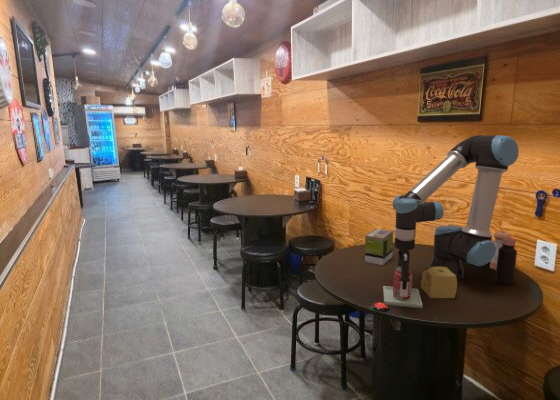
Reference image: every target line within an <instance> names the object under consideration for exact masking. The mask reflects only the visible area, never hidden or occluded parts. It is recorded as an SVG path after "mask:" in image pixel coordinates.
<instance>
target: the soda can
mask: <svg viewBox="0 0 560 400" xmlns="http://www.w3.org/2000/svg"><path fill="white" fill-rule="evenodd" d="M392 279H393V281H392V287H393V295H394V296H395V297H396V298H398V299H401V300H406V299H409V298H410V297H411V291H412V289H413V288H412V287H413V273H412V270H411V268H410V267H409V282H408V295H407V297H403V296H400V283H401V281H399V279H401V266H400V267H398V266H397V267H395V270H394V271H393V278H392Z"/></svg>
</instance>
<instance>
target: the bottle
mask: <svg viewBox="0 0 560 400" xmlns="http://www.w3.org/2000/svg"><path fill="white" fill-rule="evenodd" d="M516 241H517V240H516V239H515V238H512V237H511V238H502V245H503V246H502V247H500V248H499V251H498V260H497V269H496V270H495V278H494V279H495V280H494V281H495V282H496V283H498V284H499V285H502V286H512V285H514V281H515V272H516V271H515V270H516V265H517V263H516V262H517V254H518V251H517V250H516V248H515V246H516Z"/></svg>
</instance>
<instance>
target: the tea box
mask: <svg viewBox="0 0 560 400" xmlns="http://www.w3.org/2000/svg"><path fill="white" fill-rule="evenodd" d="M364 249H365V250H364V262H365V263H370V264H372V265H373V264H375V265H380V266H384V265H385V264H386V263H387V262H388V261H389V260H390V259H392V258H393V257H394V256H393V255H394V254H393V253H394V230H389V229H381V228H374V229H373V230H372V231H370V232H369V233H367V234H366V235H365V242H364Z"/></svg>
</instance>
